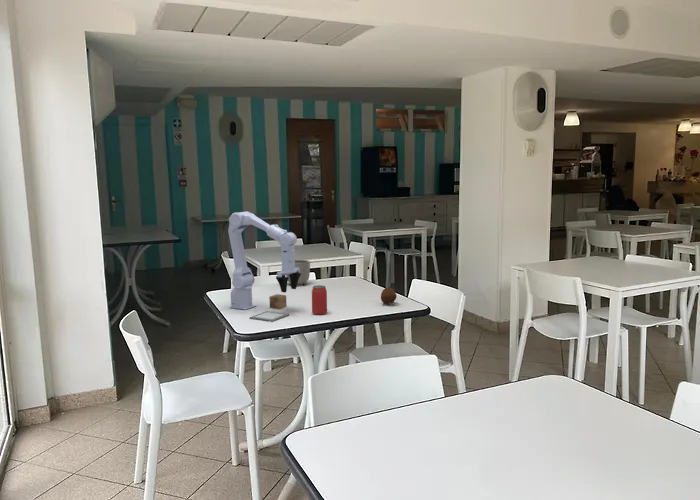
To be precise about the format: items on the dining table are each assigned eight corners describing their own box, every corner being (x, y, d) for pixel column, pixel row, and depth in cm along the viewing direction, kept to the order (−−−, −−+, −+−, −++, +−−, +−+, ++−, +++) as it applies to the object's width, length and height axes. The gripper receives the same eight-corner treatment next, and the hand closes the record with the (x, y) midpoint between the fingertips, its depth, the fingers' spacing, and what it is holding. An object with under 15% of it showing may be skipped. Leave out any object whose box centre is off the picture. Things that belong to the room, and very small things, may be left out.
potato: (393, 301, 263) (393, 285, 262) (398, 306, 253) (398, 289, 252) (378, 302, 262) (378, 285, 261) (382, 306, 252) (382, 290, 251)
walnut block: (269, 308, 252) (269, 296, 252) (276, 305, 257) (276, 294, 256) (279, 309, 250) (279, 297, 249) (286, 306, 255) (286, 295, 254)
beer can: (325, 315, 238) (324, 288, 236) (310, 314, 239) (309, 287, 238) (328, 311, 244) (328, 285, 243) (314, 311, 246) (313, 284, 244)
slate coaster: (249, 318, 234) (249, 317, 234) (266, 312, 244) (266, 310, 244) (272, 322, 228) (272, 320, 228) (289, 315, 239) (289, 313, 238)
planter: (309, 287, 298) (308, 263, 296) (283, 287, 298) (283, 263, 297) (311, 282, 312) (311, 259, 310) (287, 282, 312) (286, 259, 310)
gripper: (286, 263, 233) (286, 294, 235) (305, 258, 246) (305, 288, 248) (272, 262, 236) (273, 293, 238) (292, 257, 249) (292, 286, 251)
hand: (288, 290), depth 243 cm, fingers open, 7 cm apart
